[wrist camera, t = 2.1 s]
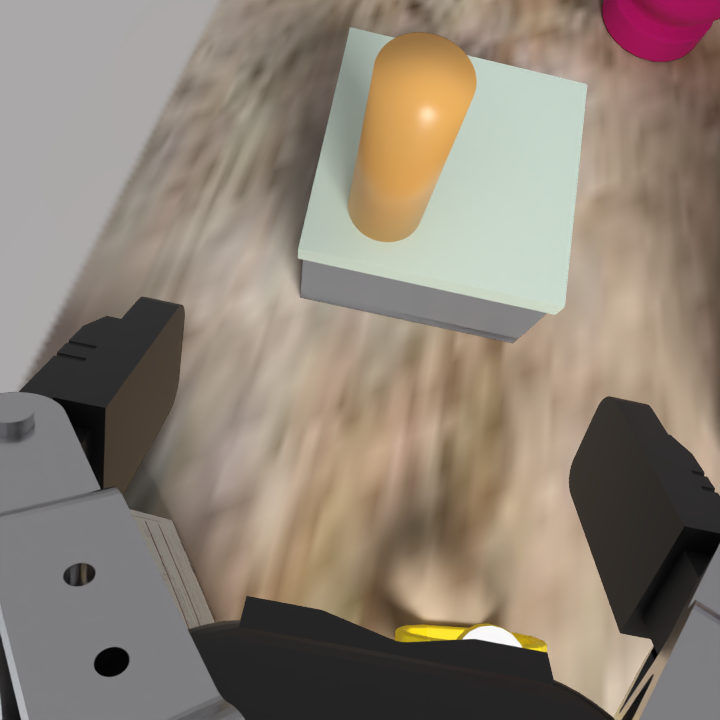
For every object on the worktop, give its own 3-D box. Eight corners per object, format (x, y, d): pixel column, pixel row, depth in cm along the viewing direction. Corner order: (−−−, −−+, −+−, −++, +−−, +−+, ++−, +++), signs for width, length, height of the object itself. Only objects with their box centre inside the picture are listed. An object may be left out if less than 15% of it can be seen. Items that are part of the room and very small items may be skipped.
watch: (387, 672, 29) (401, 702, 23) (391, 605, 30) (405, 618, 24) (522, 681, 29) (569, 714, 23) (523, 614, 30) (568, 630, 24)
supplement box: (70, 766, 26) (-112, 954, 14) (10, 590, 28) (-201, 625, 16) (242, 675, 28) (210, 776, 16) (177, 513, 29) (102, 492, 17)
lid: (571, 108, 33) (691, -74, 23) (548, 321, 29) (676, 212, 20) (346, 55, 32) (373, -155, 22) (297, 266, 29) (303, 126, 19)
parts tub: (535, 158, 36) (573, 100, 32) (512, 343, 33) (551, 309, 29) (342, 113, 36) (351, 47, 31) (300, 297, 33) (303, 255, 28)
